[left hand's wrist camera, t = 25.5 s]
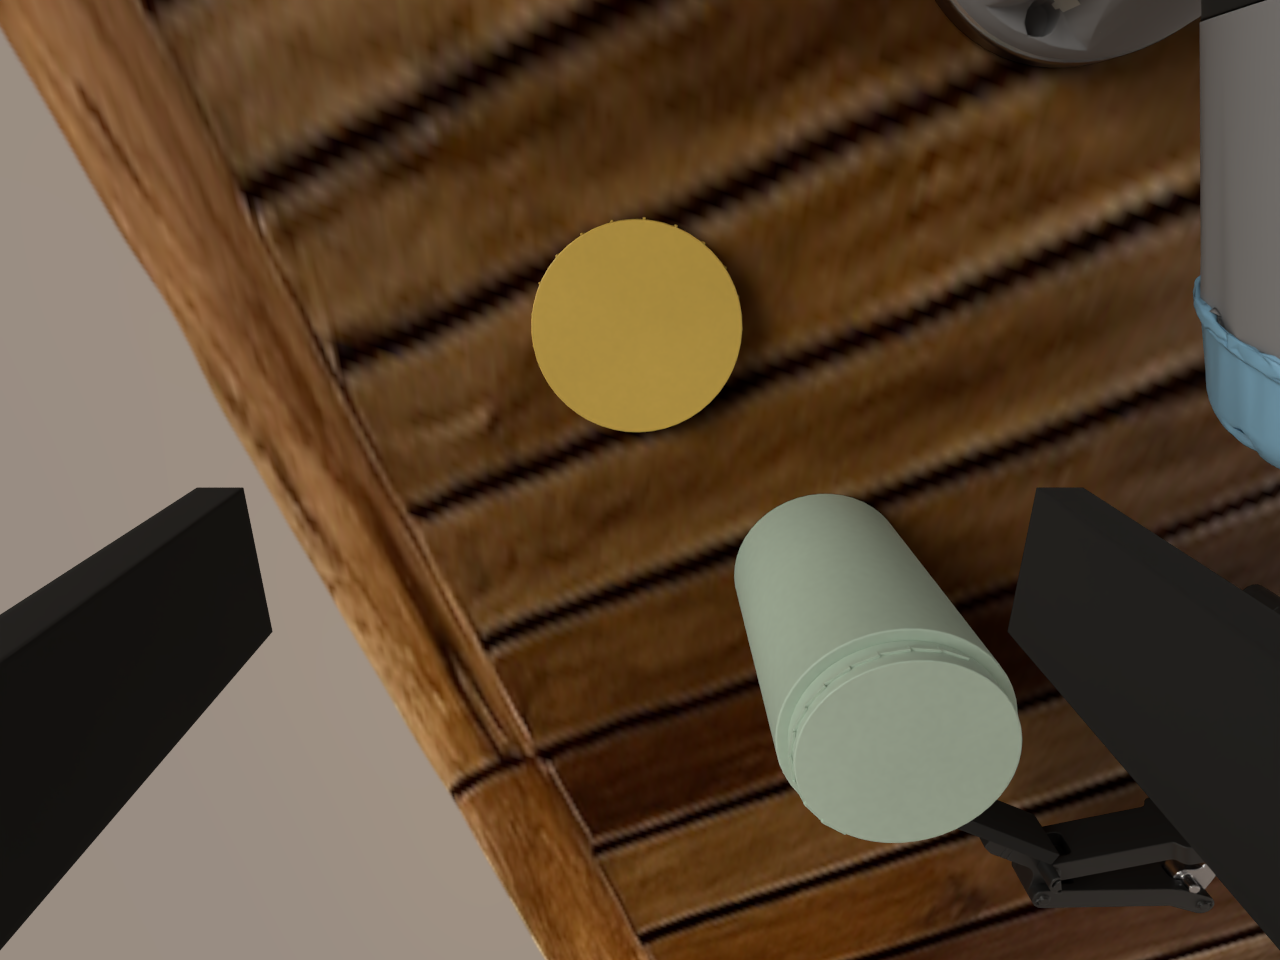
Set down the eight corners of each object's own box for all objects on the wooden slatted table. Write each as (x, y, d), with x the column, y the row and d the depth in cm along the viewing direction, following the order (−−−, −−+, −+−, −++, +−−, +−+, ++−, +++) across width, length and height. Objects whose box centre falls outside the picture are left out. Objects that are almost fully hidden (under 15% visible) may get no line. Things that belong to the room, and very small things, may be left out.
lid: (555, 438, 38) (552, 447, 37) (514, 236, 35) (508, 237, 33) (749, 409, 38) (753, 417, 36) (726, 200, 34) (730, 200, 33)
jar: (804, 461, 39) (893, 603, 25) (937, 550, 41) (1089, 728, 27) (701, 591, 42) (731, 784, 28) (830, 669, 43) (919, 886, 30)
